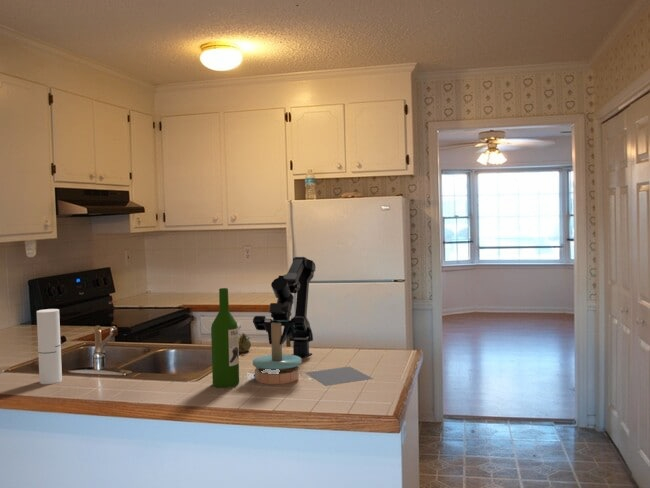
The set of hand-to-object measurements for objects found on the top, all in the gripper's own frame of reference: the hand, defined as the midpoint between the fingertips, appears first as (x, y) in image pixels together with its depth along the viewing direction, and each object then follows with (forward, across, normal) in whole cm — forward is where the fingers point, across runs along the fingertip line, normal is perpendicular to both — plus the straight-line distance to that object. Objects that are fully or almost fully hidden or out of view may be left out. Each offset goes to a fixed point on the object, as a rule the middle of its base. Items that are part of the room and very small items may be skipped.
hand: (275, 343), depth 203 cm
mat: (+4, +20, +14) cm, 25 cm away
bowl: (+8, 0, +10) cm, 12 cm away
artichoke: (-18, -26, +36) cm, 48 cm away
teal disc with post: (+4, 0, +6) cm, 7 cm away
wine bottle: (+15, -15, +3) cm, 21 cm away
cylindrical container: (+19, -78, -2) cm, 80 cm away
